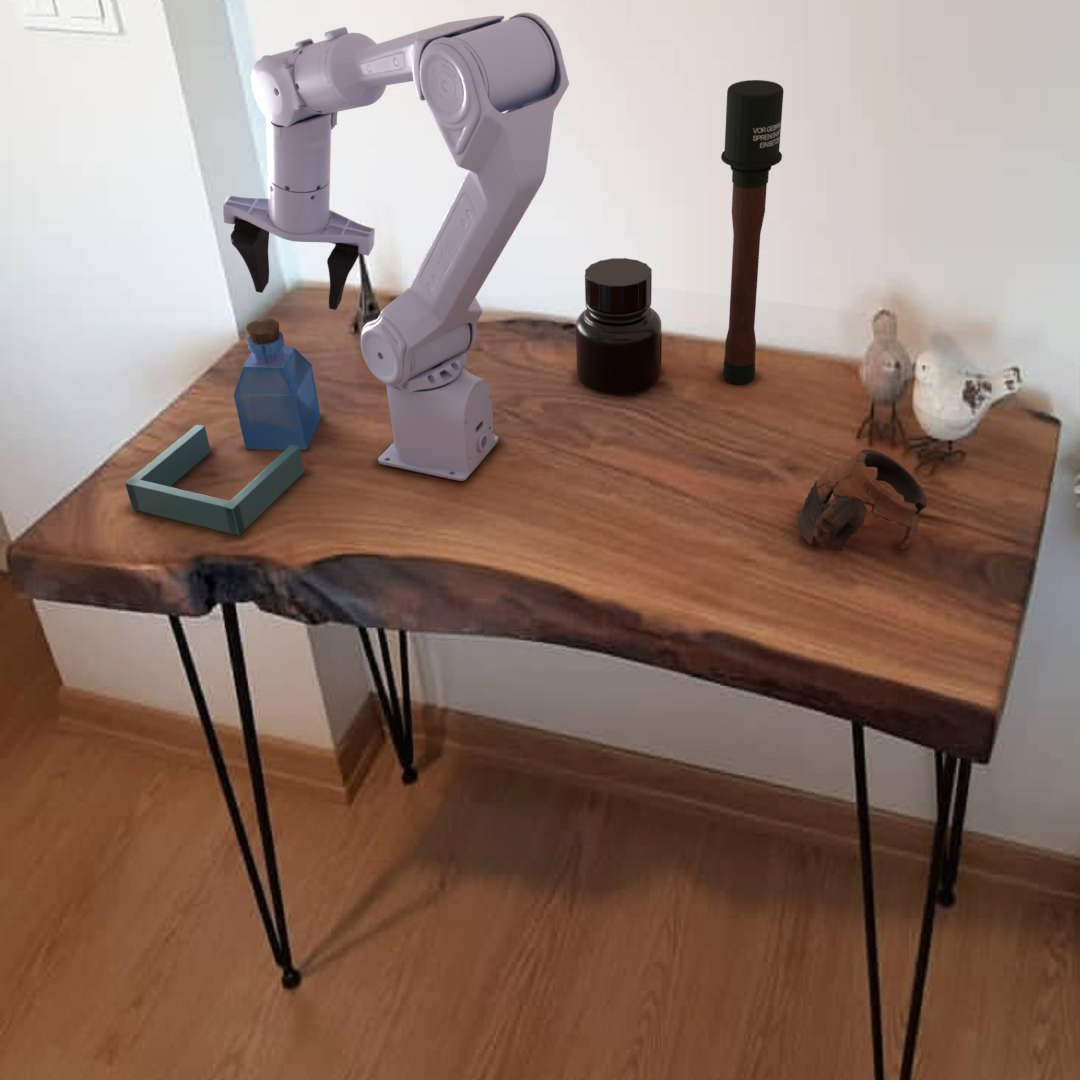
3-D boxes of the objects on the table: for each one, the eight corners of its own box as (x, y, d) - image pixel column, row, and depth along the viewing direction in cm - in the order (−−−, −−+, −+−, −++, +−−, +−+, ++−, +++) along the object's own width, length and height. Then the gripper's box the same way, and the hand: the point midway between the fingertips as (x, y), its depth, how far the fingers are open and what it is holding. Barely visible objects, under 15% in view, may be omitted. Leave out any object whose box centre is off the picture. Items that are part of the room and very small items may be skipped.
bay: (304, 472, 119) (299, 446, 117) (239, 536, 111) (232, 509, 109) (203, 449, 123) (196, 424, 121) (132, 509, 115) (124, 483, 113)
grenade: (729, 395, 127) (745, 100, 109) (701, 372, 131) (712, 84, 113) (776, 382, 128) (799, 90, 110) (747, 359, 133) (765, 74, 115)
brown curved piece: (810, 494, 113) (866, 429, 108) (890, 563, 111) (950, 499, 106) (761, 534, 103) (820, 463, 98) (847, 610, 101) (912, 542, 96)
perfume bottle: (320, 417, 127) (302, 311, 120) (306, 449, 122) (285, 341, 115) (262, 416, 127) (240, 311, 120) (245, 449, 122) (221, 341, 115)
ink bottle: (678, 369, 132) (681, 264, 124) (639, 406, 126) (640, 298, 119) (599, 349, 136) (598, 247, 129) (558, 384, 130) (554, 279, 123)
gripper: (385, 172, 117) (378, 289, 127) (238, 138, 117) (242, 257, 127) (365, 210, 112) (359, 328, 122) (211, 175, 112) (218, 296, 122)
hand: (298, 295), depth 124 cm, fingers open, 7 cm apart
